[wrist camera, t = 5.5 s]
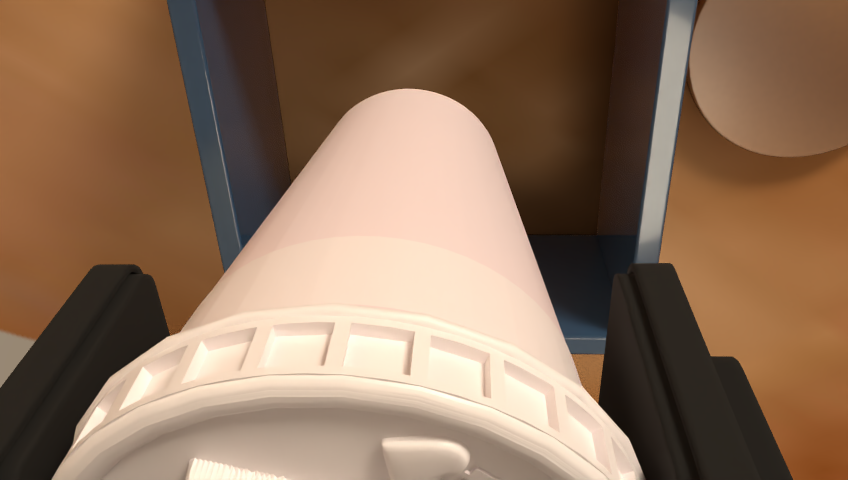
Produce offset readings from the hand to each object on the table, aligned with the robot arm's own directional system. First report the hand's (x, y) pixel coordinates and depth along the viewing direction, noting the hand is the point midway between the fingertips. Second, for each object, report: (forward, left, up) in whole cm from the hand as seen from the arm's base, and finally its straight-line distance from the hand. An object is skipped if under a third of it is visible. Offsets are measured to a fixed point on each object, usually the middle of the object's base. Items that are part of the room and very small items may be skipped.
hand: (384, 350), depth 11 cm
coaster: (0, +12, -15) cm, 19 cm away
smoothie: (0, 0, -6) cm, 6 cm away
